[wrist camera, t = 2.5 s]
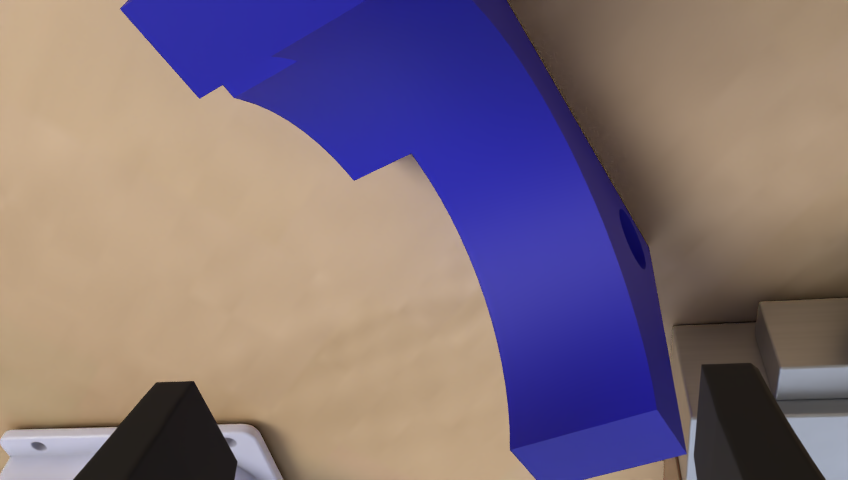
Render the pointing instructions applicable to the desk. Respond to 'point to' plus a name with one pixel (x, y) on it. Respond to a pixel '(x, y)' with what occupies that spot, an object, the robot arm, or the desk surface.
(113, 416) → the desk surface
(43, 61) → the desk surface
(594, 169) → the cable clip
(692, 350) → the brown slab with knob
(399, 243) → the desk surface
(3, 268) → the desk surface
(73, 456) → the robot arm
